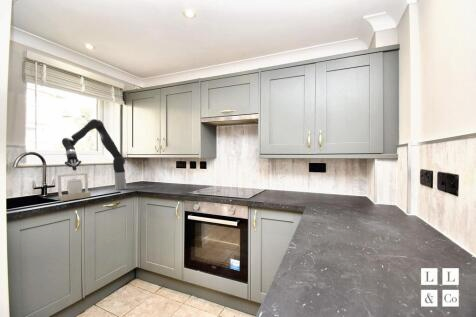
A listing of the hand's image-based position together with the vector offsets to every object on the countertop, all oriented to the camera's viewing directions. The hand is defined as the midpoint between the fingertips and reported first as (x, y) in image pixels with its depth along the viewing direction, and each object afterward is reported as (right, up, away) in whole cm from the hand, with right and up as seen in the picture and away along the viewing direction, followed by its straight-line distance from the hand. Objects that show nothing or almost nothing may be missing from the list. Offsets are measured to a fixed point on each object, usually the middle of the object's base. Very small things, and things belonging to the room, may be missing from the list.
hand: (74, 170), depth 195 cm
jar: (+12, -22, -16) cm, 30 cm away
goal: (+13, -22, -17) cm, 31 cm away
